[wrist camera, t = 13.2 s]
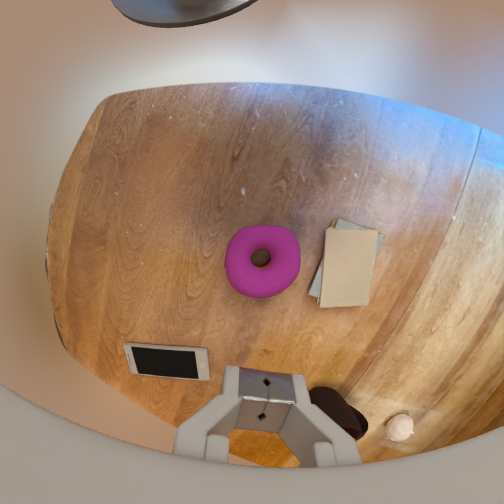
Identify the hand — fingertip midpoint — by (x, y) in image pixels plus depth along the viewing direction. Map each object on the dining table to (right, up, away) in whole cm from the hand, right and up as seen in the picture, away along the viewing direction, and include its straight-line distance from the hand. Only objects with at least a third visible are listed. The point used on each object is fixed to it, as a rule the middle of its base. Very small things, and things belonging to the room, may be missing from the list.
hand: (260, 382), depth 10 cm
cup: (+15, -24, +41) cm, 50 cm away
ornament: (+35, -36, +45) cm, 67 cm away
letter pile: (+14, +3, +32) cm, 35 cm away
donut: (+1, +4, +32) cm, 32 cm away
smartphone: (-16, -15, +37) cm, 43 cm away
